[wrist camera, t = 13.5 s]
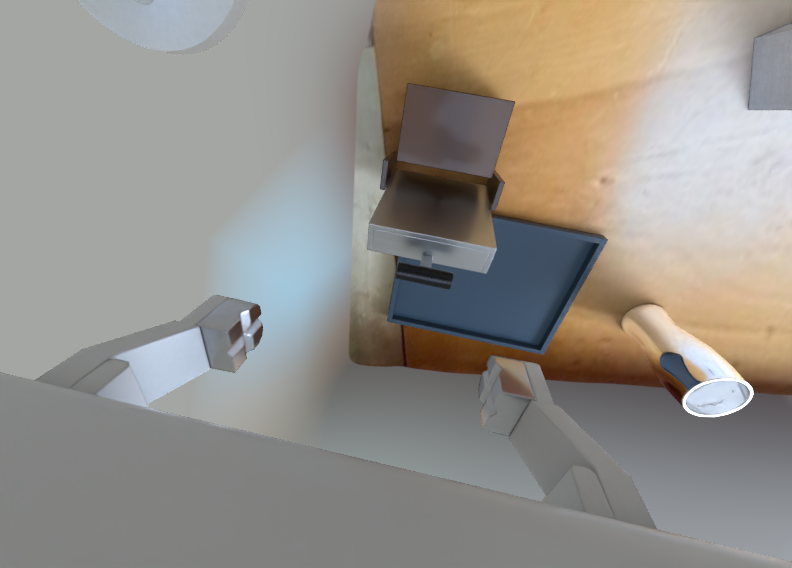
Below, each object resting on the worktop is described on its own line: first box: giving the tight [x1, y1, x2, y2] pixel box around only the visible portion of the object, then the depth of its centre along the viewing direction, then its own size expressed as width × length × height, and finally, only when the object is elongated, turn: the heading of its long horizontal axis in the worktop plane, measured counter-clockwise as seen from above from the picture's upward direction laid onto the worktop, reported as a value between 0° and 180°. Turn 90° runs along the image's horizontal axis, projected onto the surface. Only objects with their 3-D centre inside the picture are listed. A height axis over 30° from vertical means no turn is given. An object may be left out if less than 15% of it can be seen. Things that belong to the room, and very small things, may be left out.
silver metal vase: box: [621, 304, 753, 417], centre depth 40 cm, size 7×7×15 cm
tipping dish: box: [367, 169, 497, 290], centre depth 33 cm, size 12×19×3 cm
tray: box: [387, 214, 608, 354], centre depth 47 cm, size 28×22×2 cm
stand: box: [380, 83, 515, 211], centre depth 35 cm, size 14×11×8 cm
